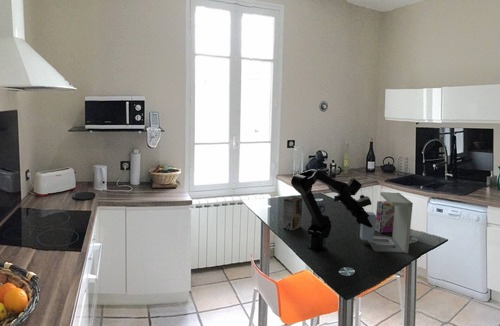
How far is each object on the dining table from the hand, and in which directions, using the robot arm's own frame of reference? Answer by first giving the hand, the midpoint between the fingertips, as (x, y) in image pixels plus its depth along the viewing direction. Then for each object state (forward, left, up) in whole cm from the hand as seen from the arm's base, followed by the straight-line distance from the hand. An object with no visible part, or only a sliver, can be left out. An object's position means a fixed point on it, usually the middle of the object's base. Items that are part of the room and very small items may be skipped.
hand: (370, 225), depth 178 cm
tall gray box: (-1, +1, -7) cm, 7 cm away
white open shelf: (+5, -5, -9) cm, 12 cm away
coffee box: (-14, +39, -9) cm, 42 cm away
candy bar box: (+23, +5, -9) cm, 25 cm away
